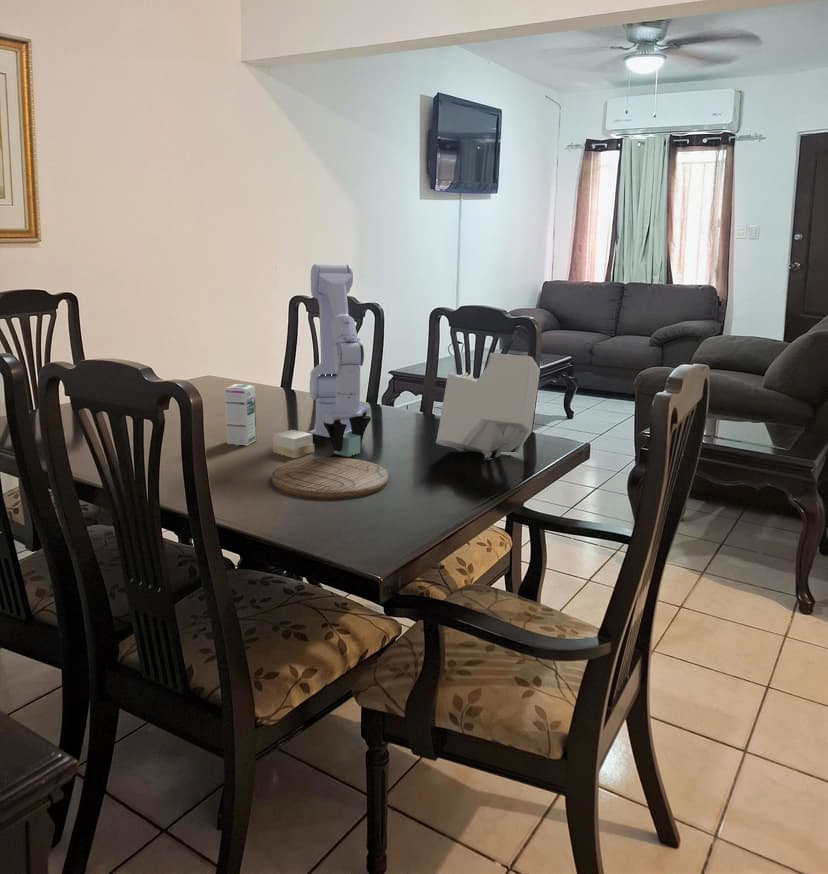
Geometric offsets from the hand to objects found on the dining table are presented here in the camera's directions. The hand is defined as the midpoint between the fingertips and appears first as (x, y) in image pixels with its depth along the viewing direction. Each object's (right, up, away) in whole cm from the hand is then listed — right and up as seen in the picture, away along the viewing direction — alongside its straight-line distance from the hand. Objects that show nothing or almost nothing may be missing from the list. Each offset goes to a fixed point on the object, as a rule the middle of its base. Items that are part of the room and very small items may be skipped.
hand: (347, 447), depth 190 cm
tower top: (-13, +1, -1) cm, 13 cm away
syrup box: (-27, +1, +7) cm, 28 cm away
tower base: (-13, -2, 0) cm, 13 cm away
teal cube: (0, -1, 0) cm, 2 cm away
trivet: (-2, -7, -21) cm, 22 cm away
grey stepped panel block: (+34, -2, +2) cm, 34 cm away
